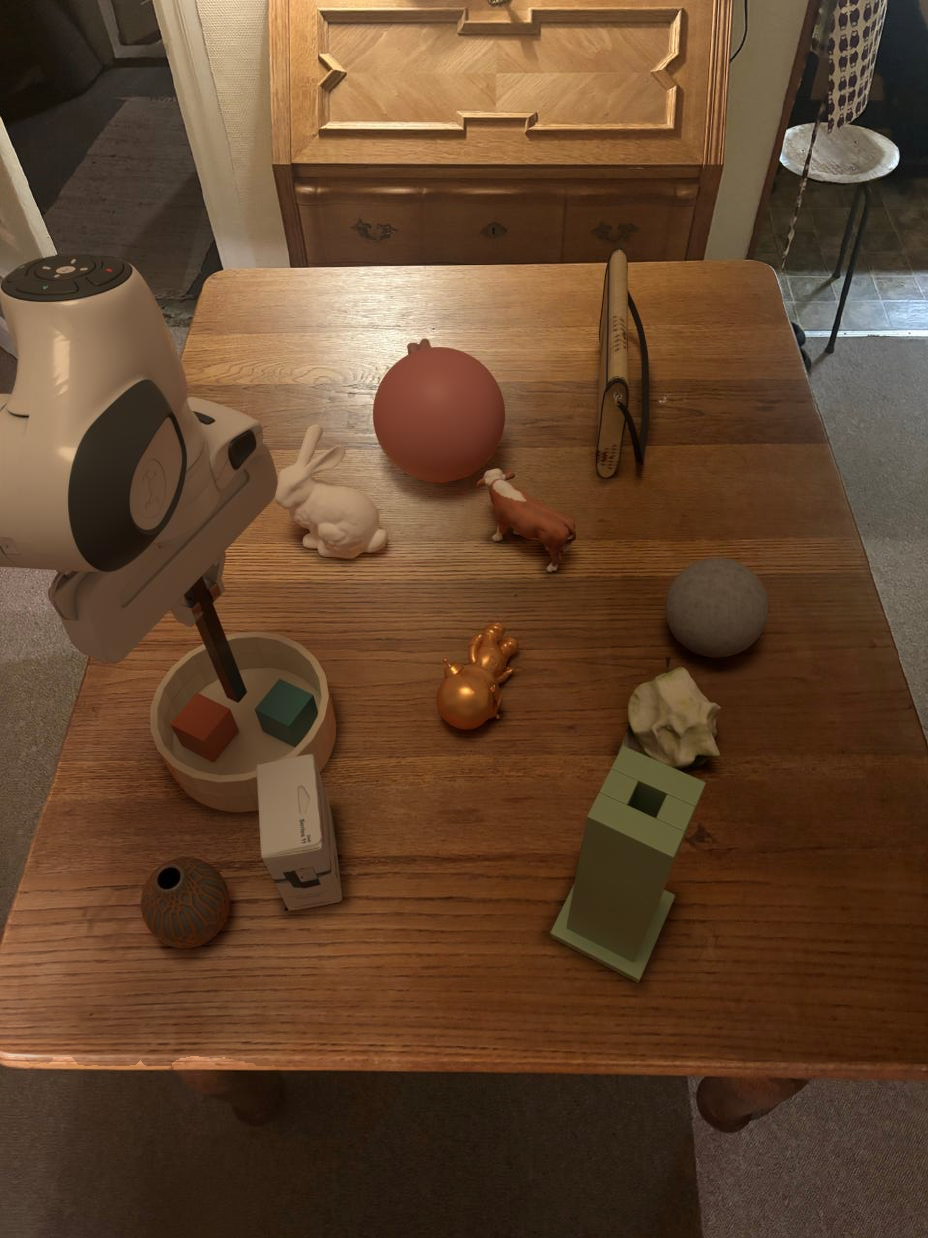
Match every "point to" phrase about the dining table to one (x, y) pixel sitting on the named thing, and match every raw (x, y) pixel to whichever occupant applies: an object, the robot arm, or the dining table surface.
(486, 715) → the figurine
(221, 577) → the robot arm
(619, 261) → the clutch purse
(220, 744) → the terracotta block
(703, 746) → the cream irregular lump
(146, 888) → the vase
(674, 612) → the decorative ball
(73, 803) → the dining table surface
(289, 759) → the ink box
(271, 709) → the teal block
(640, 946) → the stick stand
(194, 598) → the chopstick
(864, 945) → the dining table surface
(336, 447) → the rabbit
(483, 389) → the balloon
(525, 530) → the bull figurine
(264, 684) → the bowl
